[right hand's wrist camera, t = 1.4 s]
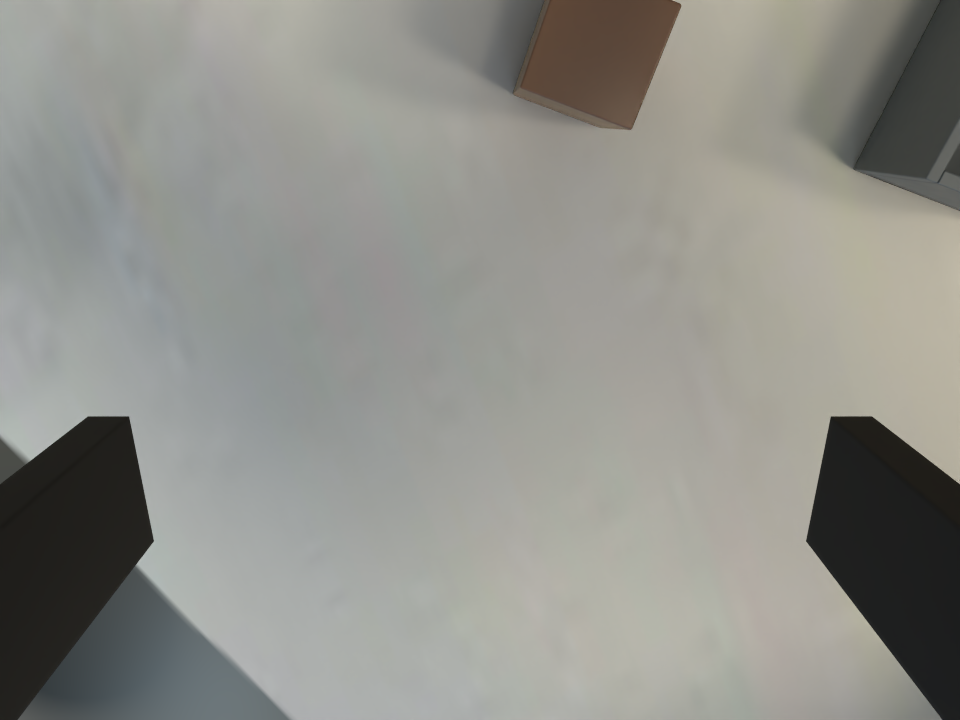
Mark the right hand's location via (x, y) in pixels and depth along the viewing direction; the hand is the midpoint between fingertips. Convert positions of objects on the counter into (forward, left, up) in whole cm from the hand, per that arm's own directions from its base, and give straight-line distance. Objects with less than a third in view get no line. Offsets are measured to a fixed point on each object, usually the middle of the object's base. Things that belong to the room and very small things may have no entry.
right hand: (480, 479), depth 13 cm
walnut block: (-1, -9, -18) cm, 21 cm away
